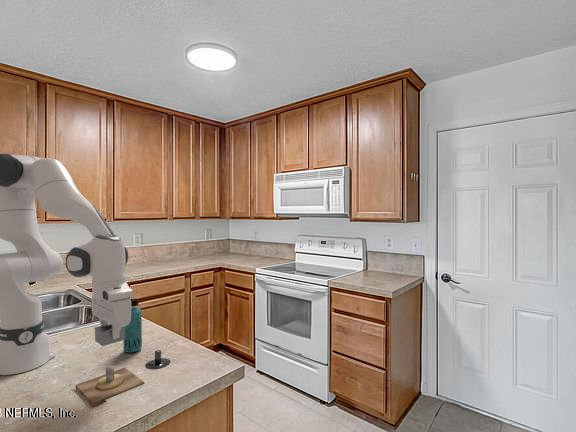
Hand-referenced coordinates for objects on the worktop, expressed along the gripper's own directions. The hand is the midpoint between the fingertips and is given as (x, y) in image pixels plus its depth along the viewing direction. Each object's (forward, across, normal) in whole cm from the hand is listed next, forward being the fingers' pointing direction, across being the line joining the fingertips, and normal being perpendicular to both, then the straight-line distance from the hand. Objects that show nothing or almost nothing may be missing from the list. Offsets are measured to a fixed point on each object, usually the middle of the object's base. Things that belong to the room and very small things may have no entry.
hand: (110, 335), depth 97 cm
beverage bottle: (+16, -19, +15) cm, 29 cm away
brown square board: (+16, 0, 0) cm, 16 cm away
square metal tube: (+2, 0, 0) cm, 2 cm away
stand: (+16, -2, +16) cm, 22 cm away
